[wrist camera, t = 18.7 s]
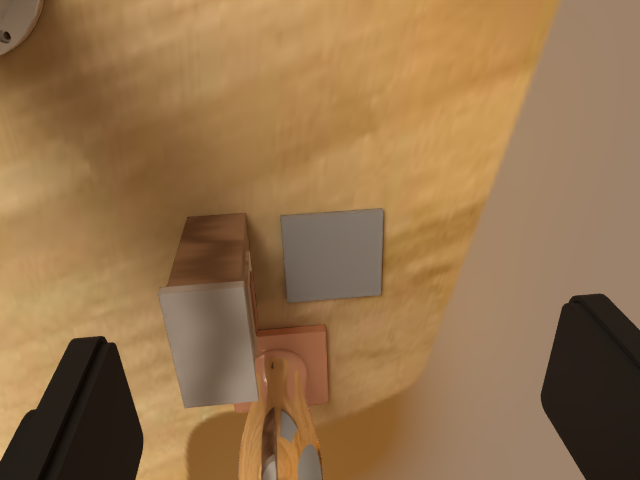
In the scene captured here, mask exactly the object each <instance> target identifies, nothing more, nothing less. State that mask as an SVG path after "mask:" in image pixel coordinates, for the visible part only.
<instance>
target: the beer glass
mask: <svg viewBox="0 0 640 480" xmlns="http://www.w3.org/2000/svg"><path fill="white" fill-rule="evenodd" d="M255 370H256V377H257V385H258V393H259V399H258V401H254V402H251V404H250V408H249V413H248V416H247V420H246V424H245V428H244V432H243V436H242V441H241V446H240V455H239V467H238V480H323V473H322V458H321V452H320V445H319V440H318V437H317V433H316V429H315V426H314V423H313V419H312V416H311V413H310V410H309V407H308V404H307V400H306V382H307V375H308V370H307V366H306V364H305V362H304V360H303V359H302V358H301V357H300V356H298V355H297V354H295V353H293V352H290V351H286V350H272V351H268V352H265V353H263V354H261V355H259V356H258V357H257V358H255Z"/></svg>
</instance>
